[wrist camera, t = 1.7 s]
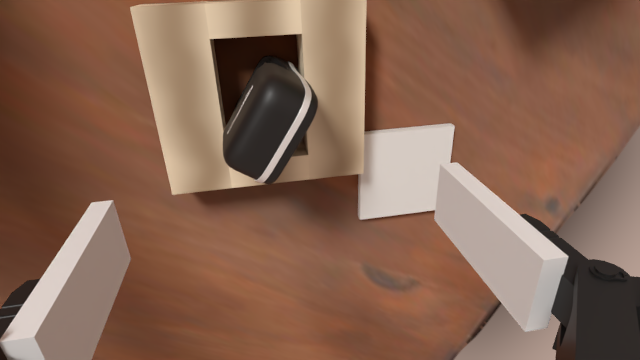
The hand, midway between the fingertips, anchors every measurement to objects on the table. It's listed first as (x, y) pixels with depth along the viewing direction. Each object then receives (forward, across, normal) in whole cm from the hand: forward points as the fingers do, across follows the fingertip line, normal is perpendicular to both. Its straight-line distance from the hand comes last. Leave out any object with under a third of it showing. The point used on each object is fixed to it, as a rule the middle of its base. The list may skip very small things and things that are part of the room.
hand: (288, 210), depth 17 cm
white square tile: (+20, +13, -9) cm, 25 cm away
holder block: (+20, 0, 0) cm, 20 cm away
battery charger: (+20, 0, 0) cm, 20 cm away
